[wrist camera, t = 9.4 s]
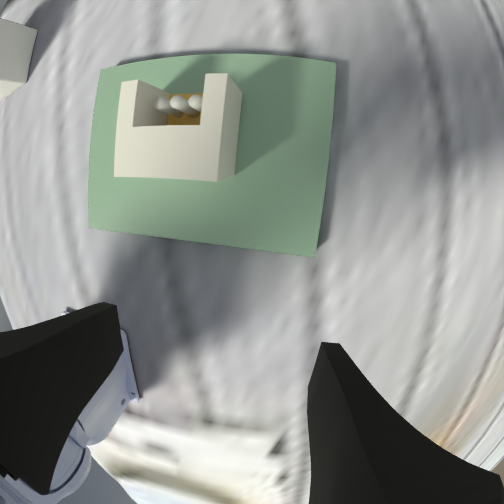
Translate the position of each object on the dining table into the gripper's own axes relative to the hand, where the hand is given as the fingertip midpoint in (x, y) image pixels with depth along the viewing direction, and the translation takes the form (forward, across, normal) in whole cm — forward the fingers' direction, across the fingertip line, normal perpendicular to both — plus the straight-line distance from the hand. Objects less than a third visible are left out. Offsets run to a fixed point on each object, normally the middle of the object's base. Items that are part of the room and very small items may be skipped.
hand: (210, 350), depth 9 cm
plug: (+9, +4, -8) cm, 12 cm away
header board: (+10, +4, -7) cm, 13 cm away
